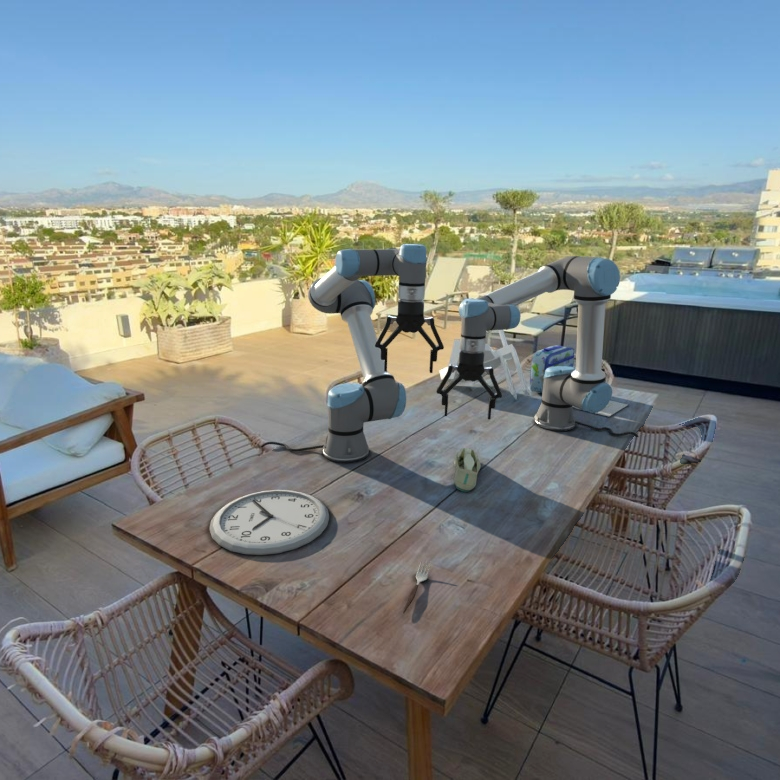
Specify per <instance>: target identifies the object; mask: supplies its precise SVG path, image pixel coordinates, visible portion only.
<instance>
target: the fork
mask: <svg viewBox="0 0 780 780" xmlns="http://www.w3.org/2000/svg"><path fill="white" fill-rule="evenodd" d="M422 561H423V560H422V559H421V560H420V564H419V566H418V570H417V572H416V575H415V579H416V581H417V583H416V584H415V585H414V587H413V588H412V589H411V591H410V592H409V594H408V597H407V600H406V603H405V605H404V610H403V611H402V613H403V614H405V613H406V612H407V610H408V608H409V606H410V604H411V603H412V602H413V600H414V599H415V597H416V595H417V591H418V588H419V584H420V583H422V582H425V581H427V579H428V578H429V575H430V569H431V565H432V562H430V563H429V561H427V562H426V560H424V562H423V564H422ZM425 562H426V563H425ZM428 563H429V564H428ZM425 564H426V565H425ZM428 565H429V566H428ZM421 566H422V567H421Z"/></svg>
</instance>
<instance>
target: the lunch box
mask: <svg viewBox="0 0 780 780" xmlns="http://www.w3.org/2000/svg"><path fill="white" fill-rule="evenodd" d="M574 363H575V348H573V347H571V346H570V347H568V346H563V345H551V346H548V347H544V348H543V349H539V350H536V351H535V352H534V354H533V356H532V358H531V363H530V374H529V391H532V392H536V393H540V394H542V391H543V378H544V375H545V370H546V369H547V368H549V367H555V366H568V367H574Z"/></svg>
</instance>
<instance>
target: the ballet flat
mask: <svg viewBox="0 0 780 780" xmlns="http://www.w3.org/2000/svg"><path fill="white" fill-rule="evenodd" d="M481 464H482V463H481V462H480V459H479V457H478V455H477V452H476V451H475V450H474V449H472V448H468V447H463V448H461V449H460V450H459V451H457V453H456V454H455V457H454V466H455V471H454V472H455V473H454V479H453V483H454V485H455V488H456V489H457V490H458V491H460V492H464V493H465V492H470V491H471V490H473V489H474V488H475V487H476V485H477V479H478V474H479V472H480V469H481V467H482V465H481Z"/></svg>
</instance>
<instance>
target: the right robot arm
mask: <svg viewBox="0 0 780 780" xmlns="http://www.w3.org/2000/svg"><path fill="white" fill-rule="evenodd" d="M620 280H621V272H620V269H619V267H618V265H617V264H616V263H615V262H614V261H613V260H612V259H609V258H604V257H601V256H600V257H599V256H580V255H572V256H571V255H570V256H565V257H563V258H560V259H557V260H555V261H552V262H550V263H548V264H545V265H544V266H541V267H540V268H539V269H538V271H536V272H534V273H532V274H530V275H528V276H525V277H523V278H520V279H519V280H517V281H516V280H515V281H514V282H512V283H509V284H508V285H505V286H502V287H501V288H498V289H495V290H493V291H492V292H489V293H487V294H485V295H482V296H480V297H478V298H465V299H463V300H462V301H461V303H460V304H459V307H458V314H459V317H460V318H461V324H460V349H461V351H460V353H459V365H458V366H453V365H452V364H450V365H449V364H448V366H449V367H448V366H447V367H448V371H447V373H446V375H445V376H444V378H443V380H441V381H440V383H439V384H438V387H437V388H436V394H437V395H438V394H439V395H441V406H444V417H448V406H449V393H450V392H451V391H452V390H453V389H454V388H455V387H456V386H457V385H458V383H459V382H460V381H461V380H462V379H463V380H465V381H469V380H470V381H476V380H478V381H479V382H478V383H479V384H481V386H482V387H483V388H484V390H485V391H486V392H487V394H488V395H489V398H488V408H487V420H491V418H492V410H494V409H495V408H496V403H497V399H499V398H500V399H501V398H503V392H502V390H501V388H500V386H499V383H498V381H497V379H496V377H495V373H494V370H493V367H492V366H491V367H489V368H484V366H483V364H484V352H483V351H484V350H485V344H486V338H487V332H489V331H498V330H503V331H508V330H513V329H515V328H517V327H518V326H519V325H520V323H521V311H520V309H519V307H517V306H518V305H521V304H523V303H526V302H527V301H530V300H532V299H534V298H536V297H538V296H540V295H542V294H545V293H549V294H552V293H554V292H557V291H564V290H565V291H573V299H574V301H575V302H576V303H577V304H578V305H577V307H578V308H577V325H576V327H577V330H576V351H575V352H576V355H575V367H574V366H573V367H568V366H555V367H549V368H547V369H546V370H545V375H544V378H543V391H542V393H541V402H540V405H539V407H538V410H537V411H536V413H535V414H534V417H533V418H534V424H535V425H536V426H537V427H539V428H542V429H544V430H549V431H556V432H567V431H572V430H574V429H575V428H576V425H579V426H581V427H586V428H588V429H591V430H594V431H605V430H606V431H608V432H609V434H610V435H611V436H614V437H623V436H627V435H633V436H634V437H636V438H639V437H640V436H639V435H638V434H637V433H636V432H634V431H627V432H626V431H625V432H621V433H616V432H613V430H612V428H610V427H607V426H602V427H596V426H593V425H590V424H587V423H583V422H581V421H576V418H575V417H576V416H575V413H574V407H577V408H579V409H578V410H580V409H582V410H581V411H583V412H587V413H590V414H596V413H597V412H600V411H601V410H603V409H604V408H605V407H606V406H607V405H608V403H609V401H611V399H612V396H613V388H612V386H611V384H609V383H607V382H606V379H607V378H606V376H607V374H606V373H605V372H604V371H603V370H602V368H603V367H602V366H603V353H604V352H603V350H604V348H603V347H604V334H605V333H604V332H605V316H606V303H607V302H608V301H610V300H611V296H612V295H613V294H614V293H615V292H616V291H617V289H618V287H619V285H620ZM455 370H457V371H458V373H459V375H458V376H457V377H456V378H455V379H454V380H453V381H452V382H451V383H450V384H449V385H445V384H446V382H447V380H448V379H449V377H450V375H451V373H453V372H454V371H455ZM484 372H486V373H487V375H488V376H489V378H490V381H491V383H492V385H493V387H494V390H495V392H494V390H493V389H492V387H491V386H490V385H489V383H487V381H486V380H485V379H484V377H482V376H481V375H482V374H483V373H484ZM459 384H460V383H459ZM445 386H446V387H445ZM444 387H445V388H444Z"/></svg>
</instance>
